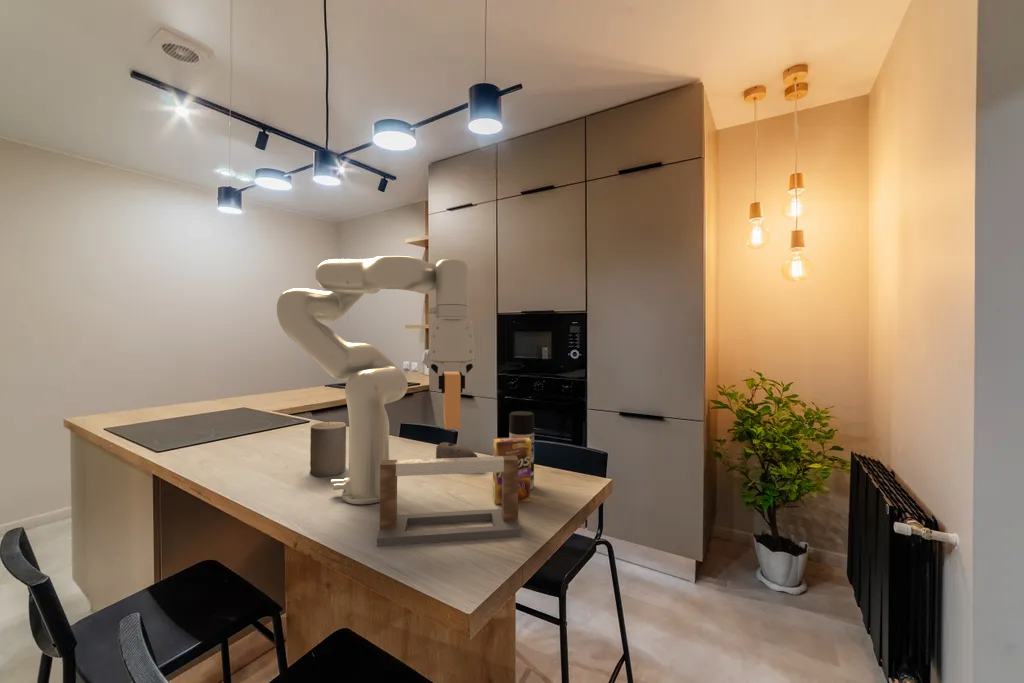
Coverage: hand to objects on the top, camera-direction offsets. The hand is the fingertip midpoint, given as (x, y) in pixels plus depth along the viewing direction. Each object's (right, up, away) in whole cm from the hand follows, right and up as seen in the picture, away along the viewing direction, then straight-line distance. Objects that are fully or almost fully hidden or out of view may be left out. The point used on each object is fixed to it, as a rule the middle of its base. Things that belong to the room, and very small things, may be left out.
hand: (451, 391), depth 95 cm
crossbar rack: (+1, -28, -10) cm, 29 cm away
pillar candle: (-40, -27, +25) cm, 54 cm away
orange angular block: (0, -8, 0) cm, 8 cm away
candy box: (+14, -28, +5) cm, 31 cm away
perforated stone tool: (-2, -27, +29) cm, 40 cm away
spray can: (+17, -28, +14) cm, 35 cm away
